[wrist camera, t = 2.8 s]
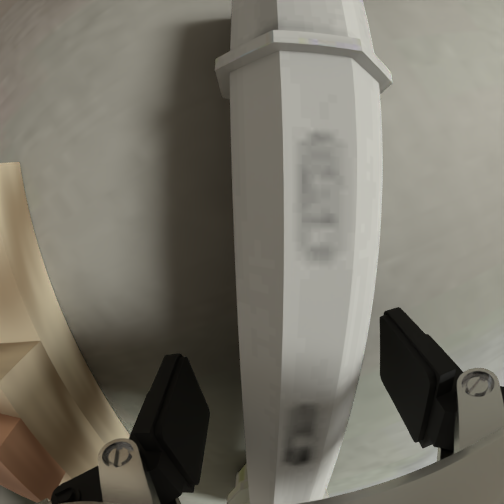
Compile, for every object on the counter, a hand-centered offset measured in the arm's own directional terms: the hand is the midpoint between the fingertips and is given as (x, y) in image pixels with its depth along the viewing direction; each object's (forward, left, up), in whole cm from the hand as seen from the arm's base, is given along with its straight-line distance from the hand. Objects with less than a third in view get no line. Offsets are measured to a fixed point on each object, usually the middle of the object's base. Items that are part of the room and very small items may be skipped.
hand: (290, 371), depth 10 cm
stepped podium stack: (0, -14, -1) cm, 14 cm away
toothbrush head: (0, 0, -2) cm, 2 cm away
